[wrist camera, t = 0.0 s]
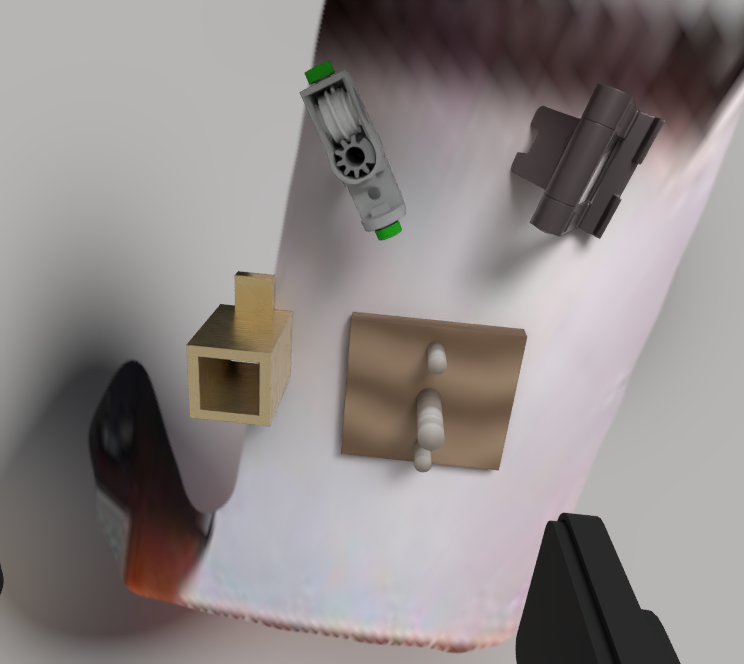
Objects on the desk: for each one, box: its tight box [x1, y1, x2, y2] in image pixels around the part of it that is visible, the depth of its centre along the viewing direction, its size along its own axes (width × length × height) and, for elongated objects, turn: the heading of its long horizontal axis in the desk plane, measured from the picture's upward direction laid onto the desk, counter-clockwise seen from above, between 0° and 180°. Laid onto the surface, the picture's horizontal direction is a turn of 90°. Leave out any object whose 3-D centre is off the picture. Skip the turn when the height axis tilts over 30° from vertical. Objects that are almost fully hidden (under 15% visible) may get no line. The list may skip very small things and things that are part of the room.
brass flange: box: [186, 271, 292, 426], centre depth 45 cm, size 12×6×8 cm, turn 175°
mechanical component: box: [300, 61, 406, 240], centre depth 37 cm, size 3×10×10 cm, turn 24°
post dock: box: [341, 312, 527, 472], centre depth 47 cm, size 13×14×8 cm
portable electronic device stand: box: [511, 84, 665, 239], centre depth 38 cm, size 9×8×8 cm
